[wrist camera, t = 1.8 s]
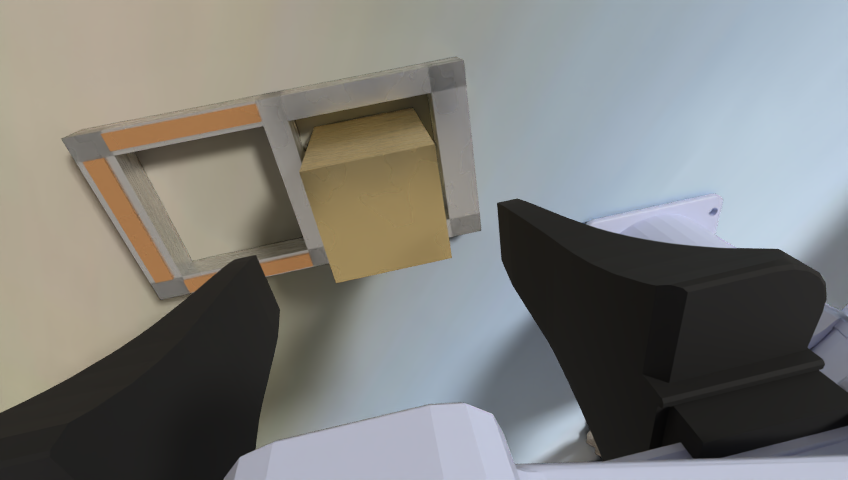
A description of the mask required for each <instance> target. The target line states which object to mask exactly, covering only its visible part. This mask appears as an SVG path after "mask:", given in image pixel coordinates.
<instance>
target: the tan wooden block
mask: <svg viewBox="0 0 848 480" xmlns="http://www.w3.org/2000/svg"><path fill="white" fill-rule="evenodd" d="M299 173H300V176H301V179H302V182H303V185H304V188H305V191H306V194H307V197H308V200H309V203H310V206H311V209H312V212H313V215H314V218H315V221H316V224H317V227H318V230H319V233H320V236H321V239H322V242H323V245H324V248H325V251H326V254H327V257H328V260H329V263H330V266H331V269H332V272H333V275H334V279H335V282H336V283H339V282H344V281H348V280H353V279H357V278H362V277H366V276H371V275H376V274H380V273H385V272H389V271H394V270H398V269H403V268H408V267H412V266H417V265H421V264H426V263H431V262H435V261H440V260H444V259H449V258H452V255H451V249H450V242H449V235H448V229H447V222H446V215H445V209H444V202H443V196H442V189H441V182H440V176H439V169H438V162H437V156H436V149H435V144H434V142H433V141H432V139H431V137H430V136H429V134H428V132H427V131H426V129H425V127H424V126H423V124H422V122H421V121H420V119H419V117H418V116H417V114H416V112H415V111H414V109H413V107H412V108H407V109H402V110H397V111H392V112H387V113H382V114H377V115H372V116H367V117H362V118H357V119H352V120H347V121H342V122H337V123H332V124H327V125H322V126H317V127H314V130H313V133H312V136H311V139H310V141H309V144H308V147H307V150H306V153H305V156H304V159H303V162H302V165H301V168H300V171H299Z"/></svg>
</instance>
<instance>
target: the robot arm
mask: <svg viewBox="0 0 848 480" xmlns="http://www.w3.org/2000/svg"><path fill="white" fill-rule="evenodd" d="M722 204H723V198H722V197H721V196H719V195H717V194H708V195H703V196H699V197H694V198H690V199H685V200H681V201H676V202H671V203H667V204H662V205H658V206H653V207H648V208H644V209H639V210H635V211H630V212H625V213H621V214H616V215H612V216H607V217H602V218H598V219H593V220H590V221H589V222H587V223H586V224H583V223H580V222H577V221H575V220H572V219H569V218H566V217H564V216H561V215H559V214H556V213H554V212H551V211H549V210H546V209H544V208H541V207H539V206H536V205H534V204H531V203H529V202H526V201H523V200H520V199H513V200H509V201H504V202H499V203H497V207H498V220H499V233H500V245H501V258H502V262H503V264H504V267H505V269H506V271H507V274H508V276H509V278H510V280H511V283H512V285H513V287H514V288H515V290H516V292H517V293H518V295H519V296H520V298H521V300H522V301H523V303H524V304H525V306H526V308H527V309H528V311H529V312H530V314H531V315H532V317H533V318H534V320H535V322H536V323H537V325H538V326H539V328H540V330H541V331H542V333H543V334H544V336H545V337H546V339H547V341H548V342H549V344H550V346H551V348H552V349H553V351H554V353H555V355H556V357H557V359H558V361H559V363H560V366H561V368H562V370H563V372H564V374H565V376H566V378H567V380H568V382H569V384H570V386H571V389H572V391H573V393H574V395H575V397H576V400H577V402H578V404H579V406H580V408H581V410H582V413H583V415H584V417H585V420H586V422H587V424H588V427H589V429H590V431H591V433H592V436H593V438H594V440H595V443H596V445H597V447H598V450H599V452H600V454H601V457H602V459H603V461H601V462H567V463H532V464H514V461H513V458H512V455H511V452H510V450H509V447H508V444H507V441H506V438H505V436H504V433H503V431H502V429H501V428H500V426H499V424H498V422H497V421H496V419H495V417H494V416H493V414H492V413H489V412H486V411H484V410H481V409H479V408H476V407H474V406H471V405H468V404H466V403H462V402H458V403H440V404H428V405H424V406H419V407H415V408H411V409H407V410H403V411H398V412H394V413H390V414H386V415H382V416H377V417H373V418H369V419H365V420H360V421H356V422H352V423H348V424H344V425H339V426H335V427H331V428H327V429H323V430H318V431H314V432H310V433H306V434H302V435H297V436H293V437H289V438H285V439H281V440H276V441H274V442H272V443H270V444H267V445H265V446H263V447H260V448H258V449H256V450H255V448H256V440H257V432H258V423H259V417H260V412H261V407H262V402H263V398H264V394H265V390H266V386H267V382H268V378H269V374H270V369H271V365H272V361H273V357H274V352H275V348H276V344H277V339H278V329H279V314H280V309H279V306H278V304H277V302H276V299H275V297H274V295H273V293H272V290H271V288H270V286H269V283H268V281H267V279H266V277H265V274H264V272H263V270H262V267H261V265H260V263H259V261H258V258H257V256H256V255H252V256H248V257H243V258H238V259H235V260H233V261H231V262H230V263H228V264H227V265H226V266H225V267H223V268H222V269H221V270H220V271H218V272H217V273H216V274H215V275H214V276H212V277H211V278H210V279H209V280H208V281H207V282H205V283H204V284H203V285H202V286H201V287H200V288H198V289H197V290H196V291H195V292H194V293H193V294H191V295H190V296H189V297H188V298H187V299H186V300H184V301H183V302H182V303H181V304H179V305H178V306H177V307H176V308H174V309H173V310H172V311H170V312H169V313H168V314H167V315H165V316H164V317H163V318H162V319H160V320H159V321H158V322H157V323H155V324H154V325H153V326H151V327H150V328H149V329H147V330H146V331H144V332H143V333H142V334H140V335H139V336H137V337H136V338H134V339H133V340H131V341H130V342H128V343H127V344H125V345H124V346H122V347H121V348H119V349H118V350H116V351H115V352H113V353H112V354H110V355H108V356H107V357H105V358H103V359H101V360H100V361H98V362H96V363H95V364H93V365H91V366H90V367H88V368H86V369H85V370H83V371H81V372H79V373H78V374H76V375H74V376H73V377H71V378H69V379H67V380H65V381H63V382H62V383H60V384H58V385H56V386H54V387H52V388H50V389H48V390H46V391H45V392H43V393H41V394H39V395H37V396H35V397H33V398H31V399H29V400H27V401H25V402H23V403H21V404H18V405H16V406H14V407H12V408H10V409H8V410H6V411H4V412H2V413H0V480H848V305H847V306H846V307H845V308H843V309H842V311H841V310H839V309H836V308H834V307H832V306H830V305H828V304H826V303H825V302H826V284H825V281H824V280H823V278H822V276H821V275H820V273H819V272H817V271H815V270H814V269H812V268H810V267H809V266H807V265H805V264H804V263H802V262H800V261H799V260H797V259H795V258H793V257H792V256H790V255H788V254H787V253H785V252H783V251H781V250H779V249H753V248H736V247H735V246H733V245H731V244H730V243H728V242H727V241H725V240H723V239H722V238H720V237H719V236H717V235H715V234H716V230H717V226H718V221H719V217H720V212H721V208H722ZM711 209H712V210H711ZM710 210H711V211H710Z"/></svg>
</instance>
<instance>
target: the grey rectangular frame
mask: <svg viewBox="0 0 848 480" xmlns="http://www.w3.org/2000/svg"><path fill="white" fill-rule="evenodd" d="M422 94H427V96H428V102H429V109H430V116H431V122H432V129H433V135H434V142H435V149H436V155H437V162H438V169H439V175H440V182H441V188H442V195H443V202H444V209H445V215H446V222H447V229H448V235H449V237H454V236H458V235H463V234H468V233H472V232H477V231H481V222H480V212H479V202H478V193H477V183H476V173H475V164H474V154H473V144H472V135H471V125H470V115H469V106H468V96H467V86H466V77H465V67H464V60H462V59H460V58H458V57H452V58H447V59H442V60H437V61H432V62H427V63H422V64H416V65H411V66H406V67H401V68H396V69H391V70H386V71H380V72H375V73H370V74H365V75H360V76H355V77H350V78H345V79H339V80H334V81H329V82H324V83H319V84H314V85H309V86H303V87H298V88H293V89H288V90H283V91H278V92H273V93H268V94H262V95H257V96H252V97H247V98H242V99H237V100H232V101H226V102H221V103H216V104H211V105H206V106H201V107H196V108H190V109H185V110H180V111H175V112H170V113H165V114H160V115H155V116H149V117H144V118H139V119H134V120H129V121H124V122H119V123H113V124H108V125H103V126H98V127H93V128H88V129H83V130H80V131H78V132H75V133H73V134H71V135H69V136H66V137H64V138H62V141H63V143H64V144H65V146H66V147H67V149H68V151H69V152H70V154H71V156H72V157H73V159H74V160H75V162H76V164H77V165H78V167H79V169H80V170H81V172H82V173H83V175H84V177H85V178H86V180H87V181H88V183H89V185H90V186H91V188H92V190H93V191H94V193H95V194H96V196H97V198H98V199H99V201H100V203H101V204H102V206H103V207H104V209H105V211H106V212H107V214H108V216H109V217H110V219H111V220H112V222H113V224H114V225H115V227H116V229H117V230H118V232H119V233H120V235H121V237H122V238H123V240H124V242H125V243H126V245H127V246H128V248H129V250H130V251H131V253H132V255H133V256H134V258H135V259H136V261H137V263H138V264H139V266H140V268H141V269H142V271H143V272H144V274H145V276H146V277H147V279H148V280H149V282H150V284H151V285H152V287H153V289H154V290H155V292H156V293H157V295H158V297H159V298H160V300H162V299H167V298H171V297H176V296H181V295H185V294H190V293H194V292H195V291H196V290H197V289H198V288H200V287H201V286H202V285H203V284H204V283H205V282H207V281H208V280H209V279H210V278H211V277H212V276H214V275H215V274H216V273H217V272H218V271H220V270H221V269H222V268H223V267H225V266H226V265H227V264H228V263H230V262H231V261H233V260H235V259H238V258H243V257H248V256H252V255H256V256H257V258H258V261H259V263H260V265H261V267H262V270H263V272H264V274H265V277H269V276H273V275H278V274H283V273H287V272H292V271H296V270H301V269H306V268H310V267H315V266H320V265H324V264H329V260H328V257H327V254H326V251H325V248H324V245H323V242H322V239H321V236H320V233H319V230H318V227H317V224H316V221H315V218H314V215H313V212H312V209H311V206H310V203H309V200H308V197H307V194H306V191H305V188H304V185H303V182H302V179H301V176H300V173H299V171H300V168H301V165H302V162H303V159H304V156H305V152H304V149H303V146H302V142H301V139H300V136H299V133H298V130H297V127H296V124H295V120H296V119H301V118H306V117H311V116H317V115H322V114H327V113H332V112H337V111H342V110H347V109H352V108H357V107H362V106H367V105H372V104H377V103H382V102H387V101H392V100H397V99H402V98H407V97H412V96H417V95H422ZM261 126H264V129H265V131H266V134H267V137H268V140H269V143H270V145H271V148H272V151H273V154H274V157H275V159H276V162H277V165H278V168H279V171H280V173H281V176H282V179H283V182H284V185H285V187H286V190H287V193H288V196H289V199H290V201H291V204H292V207H293V210H294V212H295V215H296V218H297V221H298V224H299V226H300V229H301V232H302V235H303V238H298V239H293V240H289V241H284V242H279V243H275V244H270V245H265V246H260V247H256V248H251V249H246V250H242V251H237V252H232V253H227V254H223V255H218V256H213V257H209V258H204V259H199V260H194V261H192V260H191V258H190V256H189V254H188V252H187V250H186V248H185V246H184V245H183V243H182V241H181V239H180V237H179V235H178V233H177V231H176V230H175V228H174V226H173V224H172V222H171V220H170V218H169V216H168V215H167V213H166V211H165V209H164V207H163V205H162V203H161V201H160V200H159V198H158V196H157V194H156V192H155V190H154V188H153V186H152V185H151V183H150V181H149V179H148V177H147V175H146V173H145V171H144V170H143V168H142V166H141V164H140V162H139V160H138V158H137V157H136V155H135V153H134V152H135V151H140V150H145V149H150V148H155V147H160V146H165V145H170V144H175V143H180V142H185V141H191V140H196V139H201V138H206V137H211V136H216V135H221V134H226V133H231V132H236V131H241V130H246V129H251V128H256V127H261Z"/></svg>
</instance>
